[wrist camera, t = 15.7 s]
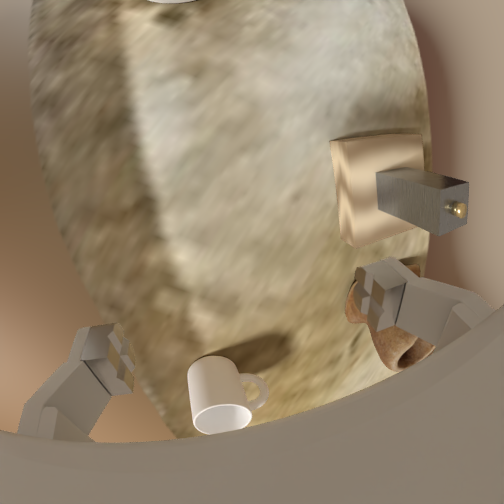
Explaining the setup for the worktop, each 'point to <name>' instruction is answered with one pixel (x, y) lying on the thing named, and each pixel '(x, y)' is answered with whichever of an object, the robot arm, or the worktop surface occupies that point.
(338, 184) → the maple stand
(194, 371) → the mug
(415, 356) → the brown piece
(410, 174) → the block
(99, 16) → the worktop surface
